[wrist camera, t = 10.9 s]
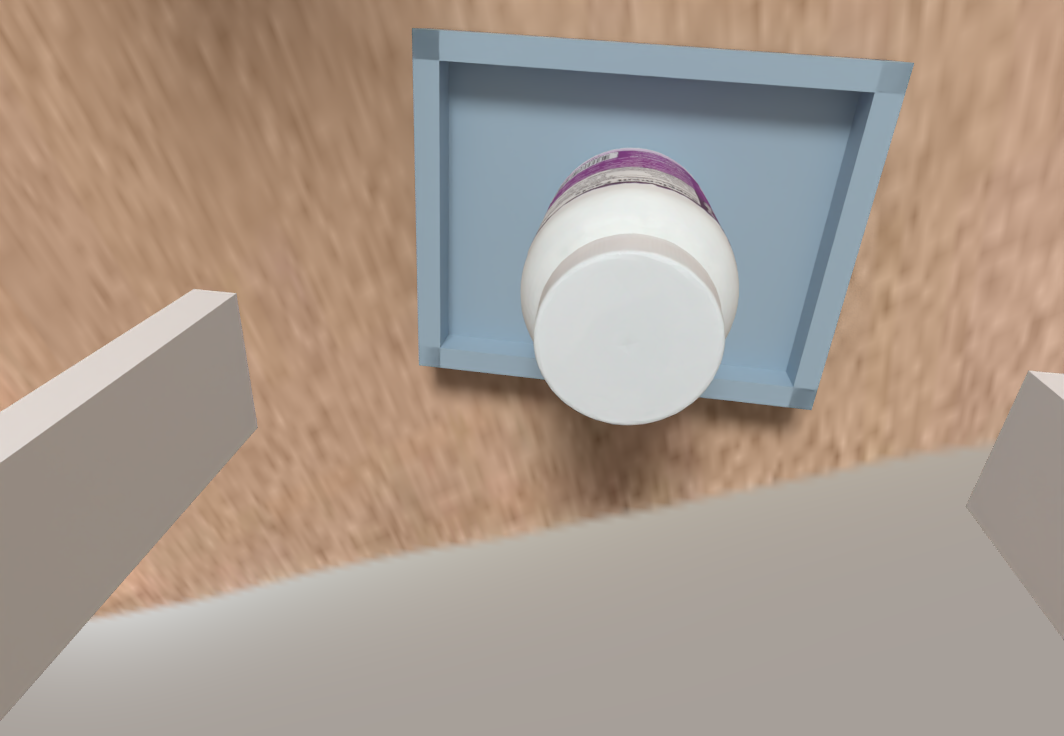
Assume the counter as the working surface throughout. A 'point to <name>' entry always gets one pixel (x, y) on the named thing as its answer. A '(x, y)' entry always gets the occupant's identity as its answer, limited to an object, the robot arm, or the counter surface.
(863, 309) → the counter surface
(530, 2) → the counter surface
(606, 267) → the pill bottle
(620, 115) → the tray
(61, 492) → the robot arm
